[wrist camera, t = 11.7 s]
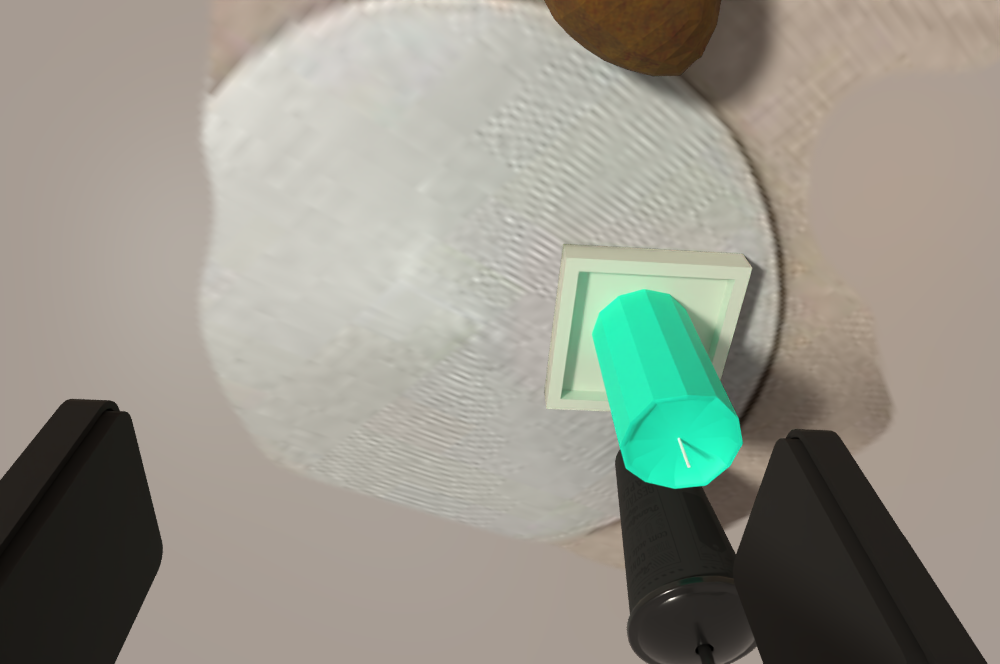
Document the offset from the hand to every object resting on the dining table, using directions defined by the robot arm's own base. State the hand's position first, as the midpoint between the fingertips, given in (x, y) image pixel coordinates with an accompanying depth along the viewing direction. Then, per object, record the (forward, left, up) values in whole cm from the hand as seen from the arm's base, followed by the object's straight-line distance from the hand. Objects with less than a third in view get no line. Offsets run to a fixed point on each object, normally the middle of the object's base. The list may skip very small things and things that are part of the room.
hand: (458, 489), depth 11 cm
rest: (-11, +15, -30) cm, 36 cm away
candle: (-11, +15, -30) cm, 35 cm away
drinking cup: (-14, +26, -31) cm, 42 cm away
